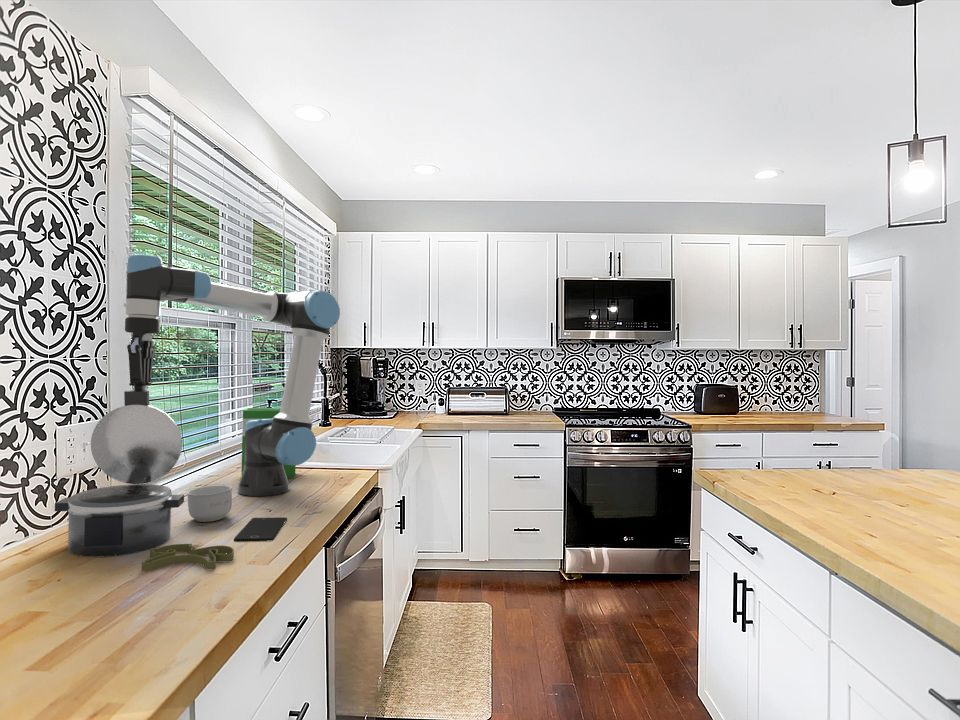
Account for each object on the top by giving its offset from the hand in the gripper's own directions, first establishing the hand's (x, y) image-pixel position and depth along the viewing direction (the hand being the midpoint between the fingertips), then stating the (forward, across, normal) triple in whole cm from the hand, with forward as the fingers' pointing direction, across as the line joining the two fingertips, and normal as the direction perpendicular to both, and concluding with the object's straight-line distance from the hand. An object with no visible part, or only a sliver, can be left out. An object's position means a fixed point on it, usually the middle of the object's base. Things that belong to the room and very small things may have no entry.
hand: (139, 411), depth 144 cm
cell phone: (+29, +6, +31) cm, 43 cm away
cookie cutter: (+29, +26, +19) cm, 44 cm away
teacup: (+29, -7, +16) cm, 34 cm away
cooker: (+29, +11, +1) cm, 31 cm away
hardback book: (+29, -59, +24) cm, 70 cm away
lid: (+6, +3, 0) cm, 7 cm away
